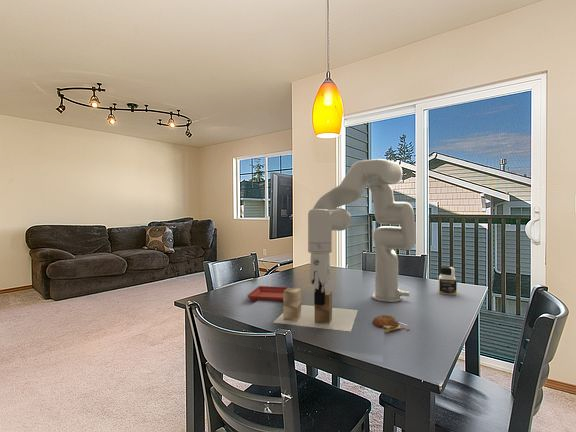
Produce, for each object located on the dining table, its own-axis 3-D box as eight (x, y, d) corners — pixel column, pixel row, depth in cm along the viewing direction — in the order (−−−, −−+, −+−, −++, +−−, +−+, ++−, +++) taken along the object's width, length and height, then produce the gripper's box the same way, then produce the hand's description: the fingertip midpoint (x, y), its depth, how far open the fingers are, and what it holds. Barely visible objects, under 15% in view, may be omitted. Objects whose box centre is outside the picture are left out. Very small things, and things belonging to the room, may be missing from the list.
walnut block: (331, 319, 113) (332, 291, 113) (329, 324, 108) (329, 294, 108) (317, 318, 114) (317, 290, 114) (314, 323, 110) (314, 293, 109)
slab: (357, 313, 124) (357, 310, 124) (350, 335, 103) (350, 331, 103) (292, 306, 131) (292, 303, 131) (273, 326, 110) (273, 322, 110)
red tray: (258, 292, 155) (258, 285, 155) (296, 294, 152) (296, 287, 152) (246, 303, 138) (246, 295, 137) (288, 305, 134) (288, 297, 134)
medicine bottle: (439, 293, 151) (439, 267, 151) (438, 289, 158) (438, 265, 158) (456, 295, 149) (456, 268, 148) (455, 291, 155) (455, 266, 155)
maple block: (301, 316, 116) (301, 288, 116) (297, 321, 112) (297, 292, 111) (287, 315, 118) (287, 287, 117) (283, 319, 113) (283, 291, 113)
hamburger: (390, 341, 100) (390, 321, 99) (361, 325, 112) (361, 308, 112) (423, 333, 106) (423, 314, 105) (392, 319, 118) (392, 303, 118)
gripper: (327, 251, 96) (326, 312, 97) (335, 245, 111) (335, 298, 111) (302, 250, 99) (302, 310, 99) (313, 244, 113) (313, 297, 114)
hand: (319, 304), depth 105 cm, fingers closed
